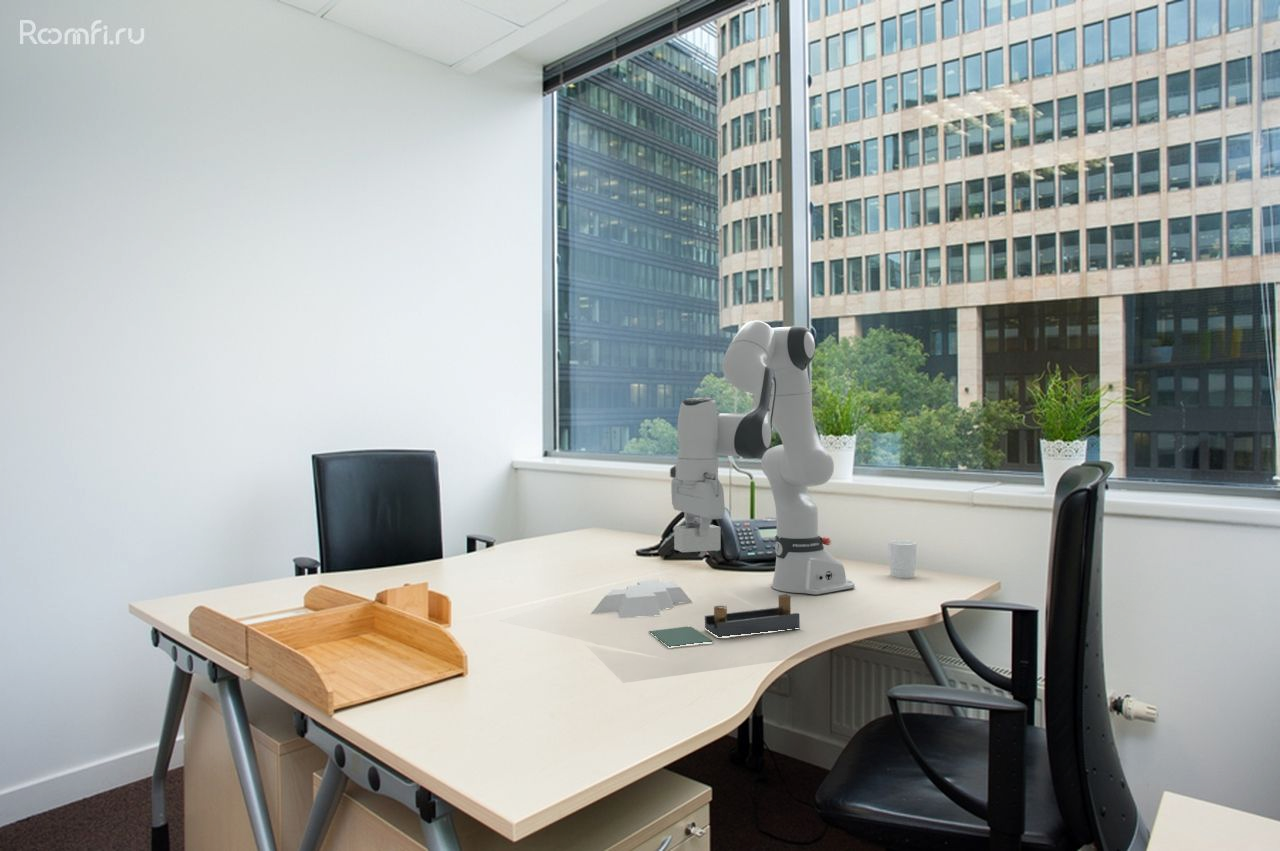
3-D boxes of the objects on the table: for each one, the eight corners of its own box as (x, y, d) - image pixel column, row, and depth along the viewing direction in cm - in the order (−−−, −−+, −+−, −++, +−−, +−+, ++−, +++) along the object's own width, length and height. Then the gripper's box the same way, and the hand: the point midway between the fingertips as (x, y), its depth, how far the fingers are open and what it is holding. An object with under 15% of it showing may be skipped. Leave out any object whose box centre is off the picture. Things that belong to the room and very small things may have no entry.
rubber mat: (690, 629, 174) (690, 626, 174) (713, 644, 163) (712, 640, 163) (648, 634, 171) (648, 631, 171) (669, 649, 160) (669, 646, 160)
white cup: (882, 575, 229) (882, 541, 228) (903, 572, 232) (902, 539, 232) (902, 580, 221) (901, 545, 221) (922, 577, 225) (922, 543, 225)
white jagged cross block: (639, 632, 175) (639, 608, 175) (572, 620, 187) (572, 598, 187) (715, 600, 204) (714, 579, 204) (653, 592, 215) (652, 572, 215)
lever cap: (711, 547, 171) (711, 520, 171) (720, 550, 167) (720, 523, 167) (674, 549, 168) (674, 522, 168) (682, 552, 164) (682, 525, 164)
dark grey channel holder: (783, 621, 180) (783, 591, 179) (799, 629, 173) (799, 598, 173) (705, 631, 173) (704, 600, 173) (718, 639, 166) (718, 607, 166)
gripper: (732, 474, 159) (732, 541, 159) (691, 468, 178) (691, 528, 178) (704, 475, 157) (704, 543, 157) (666, 469, 176) (666, 529, 176)
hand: (697, 535), depth 168 cm, fingers closed on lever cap, 4 cm apart
